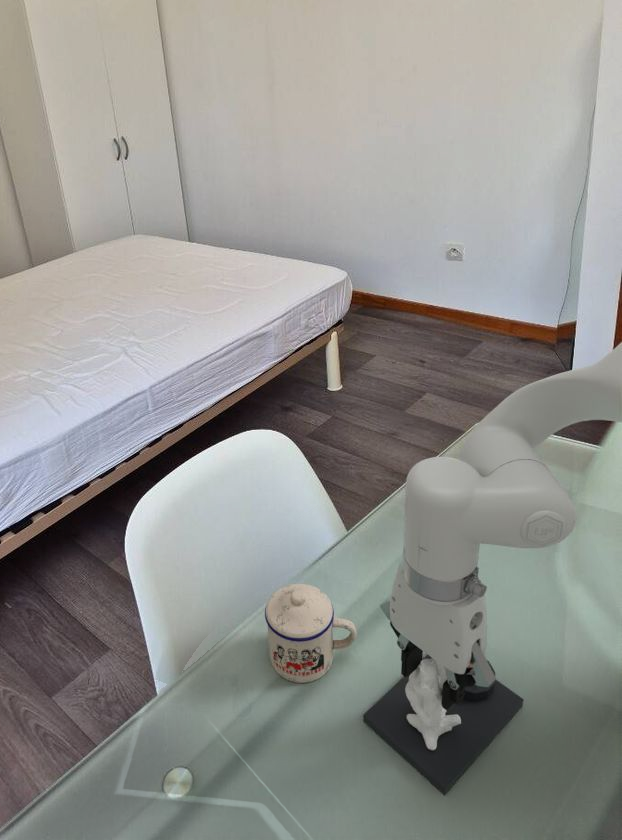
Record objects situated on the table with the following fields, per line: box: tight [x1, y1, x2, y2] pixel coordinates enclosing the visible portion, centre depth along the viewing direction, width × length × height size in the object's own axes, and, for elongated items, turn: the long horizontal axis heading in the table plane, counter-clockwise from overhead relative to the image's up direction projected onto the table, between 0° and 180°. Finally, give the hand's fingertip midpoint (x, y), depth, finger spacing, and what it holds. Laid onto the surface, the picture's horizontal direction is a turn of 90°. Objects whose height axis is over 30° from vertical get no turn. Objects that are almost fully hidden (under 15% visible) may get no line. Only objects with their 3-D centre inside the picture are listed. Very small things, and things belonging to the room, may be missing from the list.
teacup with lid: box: [264, 583, 357, 684], centre depth 92 cm, size 12×9×12 cm
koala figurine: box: [405, 658, 461, 750], centre depth 80 cm, size 8×7×12 cm
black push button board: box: [362, 654, 524, 796], centre depth 85 cm, size 16×12×3 cm
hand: (431, 683), depth 80 cm, fingers closed on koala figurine, 5 cm apart
